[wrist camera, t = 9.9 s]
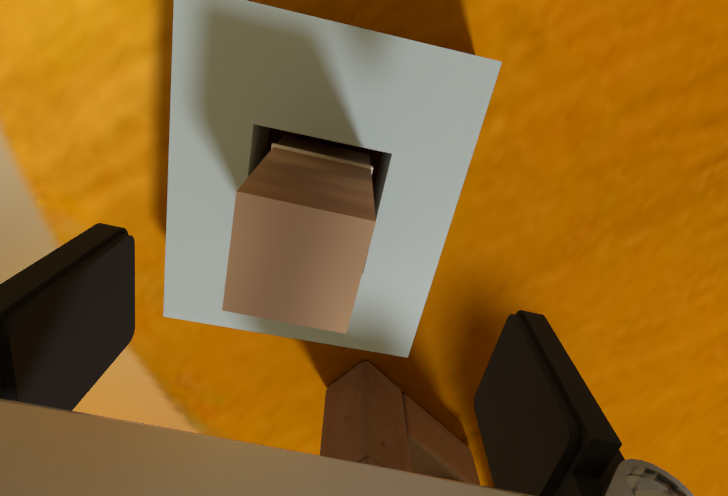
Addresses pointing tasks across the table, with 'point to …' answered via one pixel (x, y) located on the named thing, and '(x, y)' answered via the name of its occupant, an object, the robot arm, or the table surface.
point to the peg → (301, 235)
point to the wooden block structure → (389, 429)
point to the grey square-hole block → (321, 120)
